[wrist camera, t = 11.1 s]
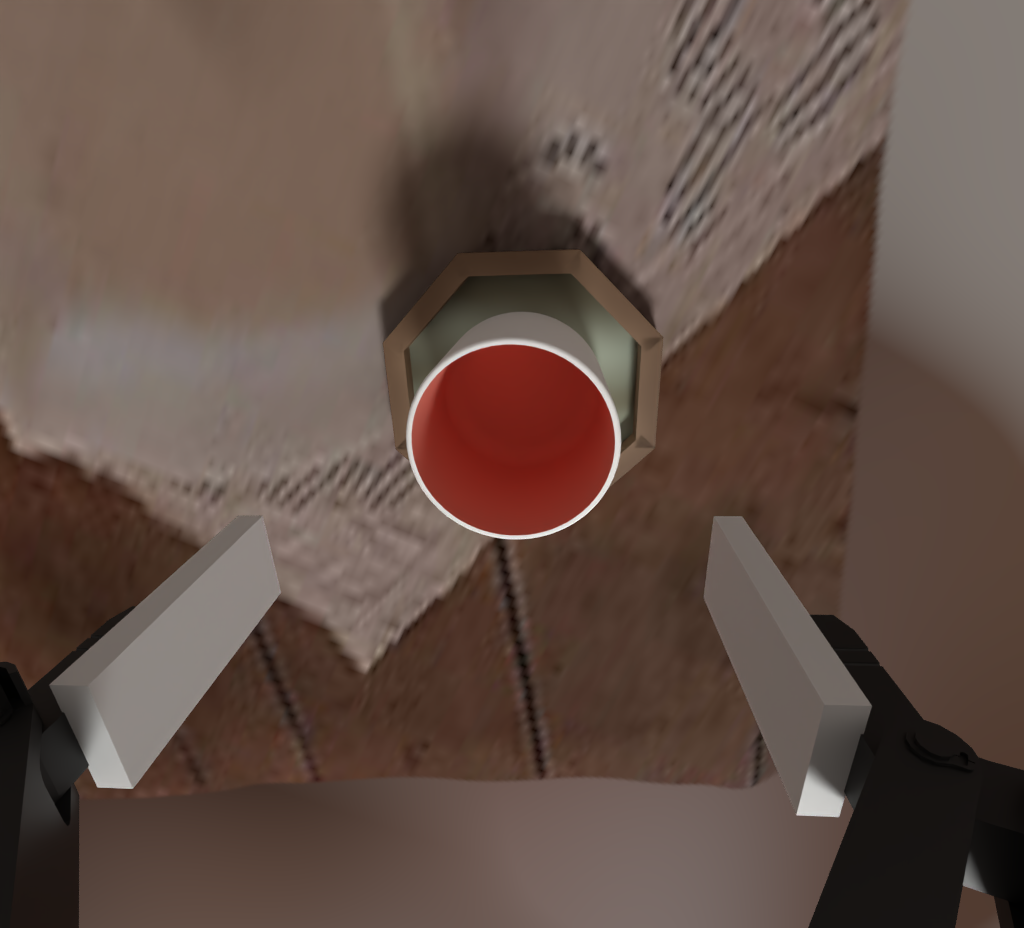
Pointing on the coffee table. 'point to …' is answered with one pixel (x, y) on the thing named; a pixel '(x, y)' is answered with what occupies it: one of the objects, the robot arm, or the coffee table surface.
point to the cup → (515, 428)
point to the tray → (545, 290)
